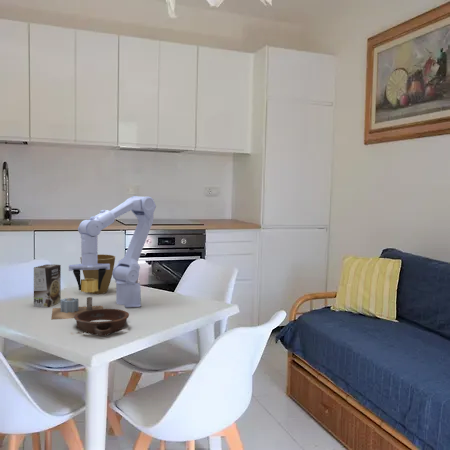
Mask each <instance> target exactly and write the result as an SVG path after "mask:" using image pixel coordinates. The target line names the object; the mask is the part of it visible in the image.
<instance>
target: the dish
mask: <svg viewBox="0 0 450 450" xmlns="http://www.w3.org/2000/svg"><path fill="white" fill-rule="evenodd" d="M129 313H130V312H128V311H125V310H124V309H117V308H103V309H96V310H88V311H83V312H80V313H77V314H75V316H74V318H73V319H74V320H75V321H76V325H77V328H78V329H79V330H81V331H83V333H85V334H88V335H93V336H97V335H98V336H100V337H103V336H104V337H105V336H108V335H111V334H115V333H117V332H120V331H121V330H122V328H124V327H125V325H126V323H127V320H128V318H129V316H130V314H129Z"/></svg>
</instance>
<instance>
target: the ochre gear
mask: <svg viewBox="0 0 450 450" xmlns="http://www.w3.org/2000/svg"><path fill="white" fill-rule="evenodd" d="M80 283H81V290H80V292H81V293H83V292H84V293H90V292H95V291H98V279H94V278H91V279H85V278H84V279H81V278H80Z"/></svg>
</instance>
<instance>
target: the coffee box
mask: <svg viewBox="0 0 450 450" xmlns="http://www.w3.org/2000/svg"><path fill="white" fill-rule="evenodd" d="M61 265H62V264H43V265H38V266H35V267H33V307H35V308H48V309H49V308H51V307H53V306H56V305H57V304H61V299H62V298H61V296H62V295H61V292H62V291H61V288H62V286H61V284H62V283H61V282H62V281H61V278H62V277H61V273H62V272H61V269H62V268H61Z"/></svg>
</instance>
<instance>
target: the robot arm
mask: <svg viewBox="0 0 450 450" xmlns="http://www.w3.org/2000/svg"><path fill="white" fill-rule="evenodd" d="M156 207H157V205H156V203H155V201H154V198H153V197H151V196H148V195H147V196H139V195H138V196H137V195H133V196H131V197H128V198H126V200H125V201H123V202H122V203H120V204H119V205H117V206H116V207H114V208H112V209H111V210H108V209H101V210H100V211H99V213H98V214H96V215H94V216H93V215H92V216H90V217H89V219H84V220H82V221H81V222H80V223H79V226H78V227H77V232H79V235H80V238H81V242H80V243H81V246H80V247H81V248H80V249H81V252H80V253H81V254H80V255H81V256H80V257H81V259H80V263H76V264H68V271H69V272H72V274H73V275H74V277H75V280H76V282H77V286H78V291H81V271H82V270H98V289H100V287H101V282H102V279H103V277H104V275H105V273H106V269H107V270H110V264H98V255H99V254H98V243H99V242H98V236H99V235H100V233H101V231H102V230H104V229H106V228H107V227H109V226H110V225H112V224H114V223H115V219H116V218H120V217H121V216H122V215H125V214H127V213H129V212H130V211H131V212H132V213H133V215H134V216H135V218H136V219H137V225H136V227H135V229H134V232H133V234H132V237H131V239H130V242H129V245H128V247H127V249H126V251H125V255H124V257H123V258H121V259H120V260H118V263H117V264H116V266H114V269H113V273H112V277H113V278H112V279H114V280H115V283H116V284H115V289H116V290H115V293H116V294H115V296H116V297H115V298H116V300H115V303H116V304H117V305H121V306H124V308H125V309H126V308H138V307H139V308H141V307H142V305H141V301H142V298H141V297H142V294H141V291H142V290H141V288H142V287H141V283H140V282H138V280H139V276H140V270H141V267H140V264H139V262H138V261H139V259H140V257H141V254H142V252H143V250H144V249H143V248H144V247H145V243H146V241H147V238H148V237H149V236H148V235H149V234H150V231H151V229H152V225H153V223H154V213H155V210H156Z"/></svg>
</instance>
